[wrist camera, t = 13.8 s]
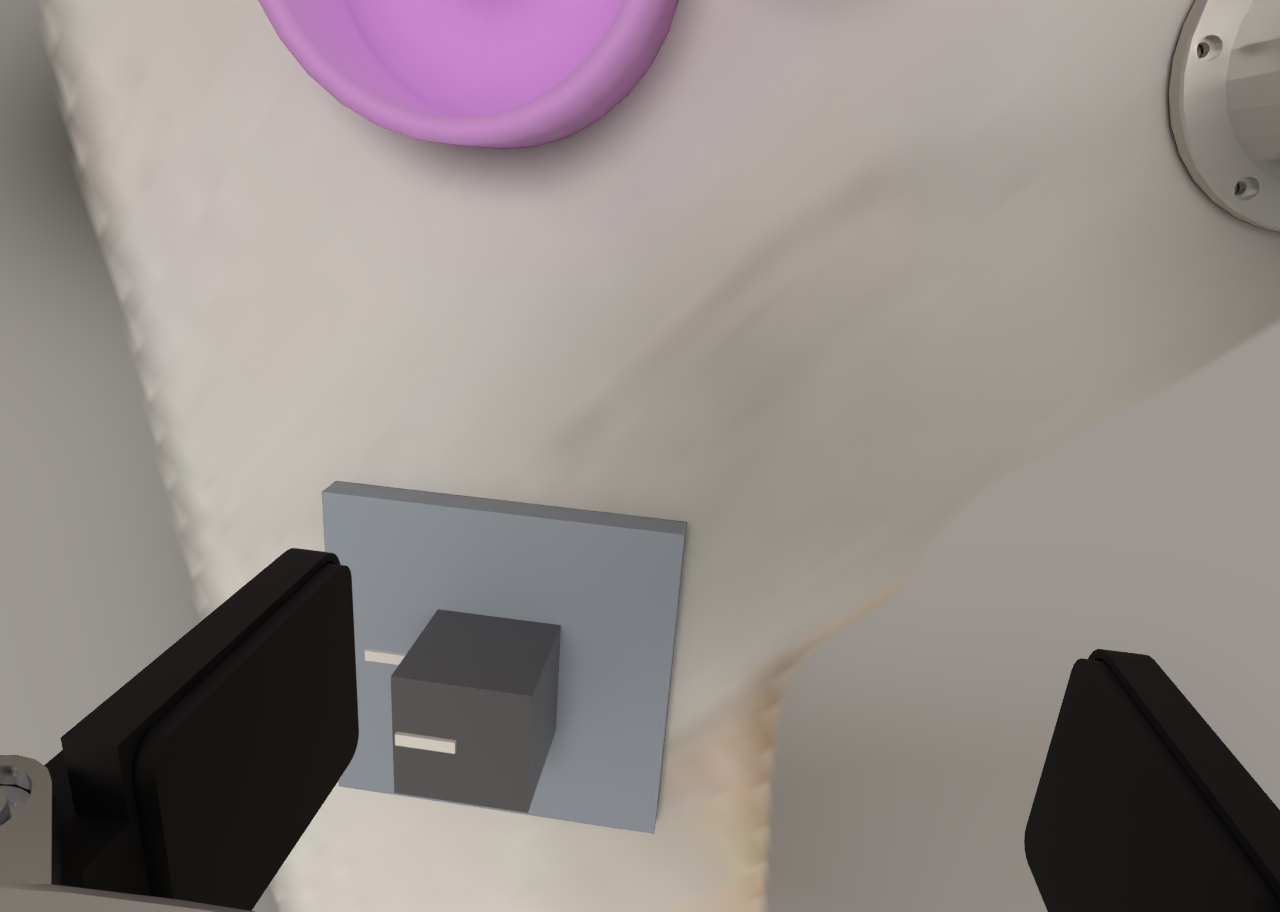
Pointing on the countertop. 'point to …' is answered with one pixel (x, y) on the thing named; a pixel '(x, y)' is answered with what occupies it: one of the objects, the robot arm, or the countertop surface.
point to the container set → (475, 62)
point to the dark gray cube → (475, 710)
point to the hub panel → (532, 591)
